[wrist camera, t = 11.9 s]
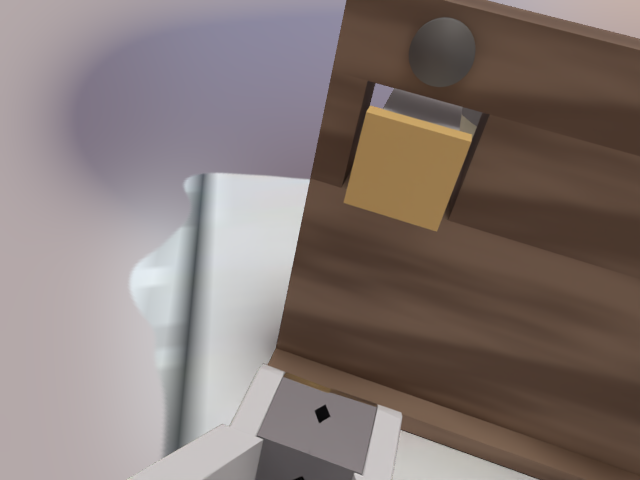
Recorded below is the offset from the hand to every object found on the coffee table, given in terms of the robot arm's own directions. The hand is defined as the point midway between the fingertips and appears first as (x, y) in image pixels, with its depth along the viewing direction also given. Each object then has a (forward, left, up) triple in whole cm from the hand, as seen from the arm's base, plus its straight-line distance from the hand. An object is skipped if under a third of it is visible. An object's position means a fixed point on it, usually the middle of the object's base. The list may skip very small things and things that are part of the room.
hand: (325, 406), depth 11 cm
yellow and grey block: (+13, -8, -2) cm, 16 cm away
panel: (+9, -15, -15) cm, 23 cm away
